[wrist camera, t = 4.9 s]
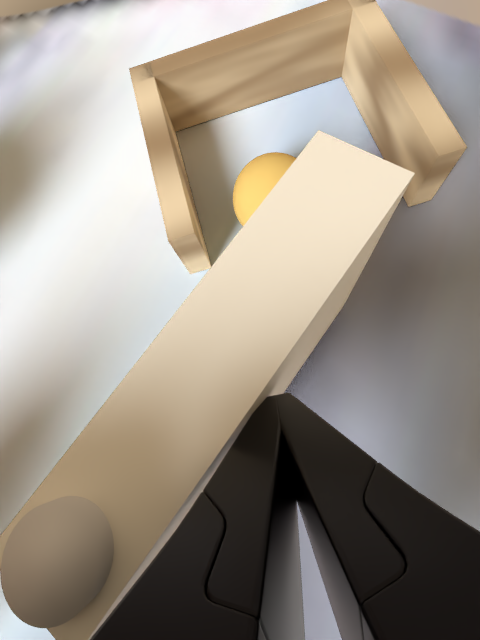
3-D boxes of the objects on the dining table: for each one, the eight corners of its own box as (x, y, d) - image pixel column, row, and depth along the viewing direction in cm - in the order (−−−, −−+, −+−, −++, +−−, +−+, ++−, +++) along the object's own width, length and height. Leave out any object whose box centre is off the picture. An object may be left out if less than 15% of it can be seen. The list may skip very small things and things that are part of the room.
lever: (343, 306, 16) (422, 158, 7) (203, 509, 14) (56, 679, 5) (300, 281, 16) (320, 115, 7) (162, 471, 15) (-34, 562, 6)
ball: (288, 131, 16) (318, 204, 18) (219, 173, 17) (254, 238, 19) (302, 138, 13) (337, 227, 15) (215, 190, 14) (258, 266, 16)
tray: (431, 199, 17) (466, 147, 14) (190, 274, 18) (168, 241, 14) (353, 57, 20) (366, -13, 17) (153, 123, 21) (129, 68, 18)
